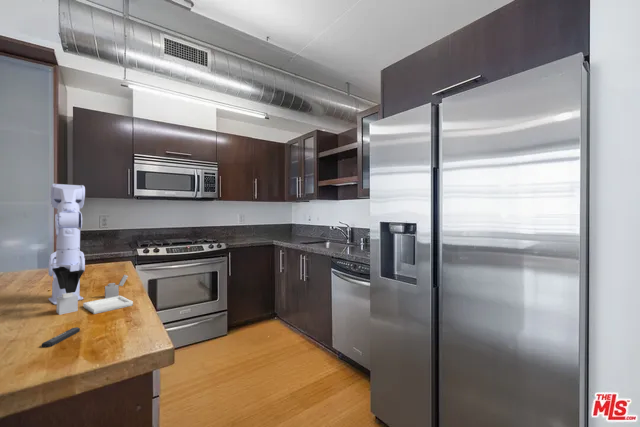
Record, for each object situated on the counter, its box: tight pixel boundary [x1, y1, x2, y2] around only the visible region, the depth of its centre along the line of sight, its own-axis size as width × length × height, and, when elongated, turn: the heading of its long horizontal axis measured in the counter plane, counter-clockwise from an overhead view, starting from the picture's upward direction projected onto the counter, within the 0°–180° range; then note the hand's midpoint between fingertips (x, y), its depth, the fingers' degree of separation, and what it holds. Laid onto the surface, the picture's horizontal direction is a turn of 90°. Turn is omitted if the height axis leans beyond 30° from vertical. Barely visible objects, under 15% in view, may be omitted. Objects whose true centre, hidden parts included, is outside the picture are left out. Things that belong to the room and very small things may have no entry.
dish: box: [82, 295, 134, 315], centre depth 97 cm, size 11×11×1 cm
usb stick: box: [41, 327, 81, 348], centre depth 72 cm, size 10×3×2 cm, turn 4°
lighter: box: [104, 274, 129, 299], centre depth 108 cm, size 7×2×8 cm, turn 130°
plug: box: [56, 293, 79, 316], centre depth 91 cm, size 4×4×6 cm
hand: (67, 290), depth 91 cm, fingers open, 7 cm apart
